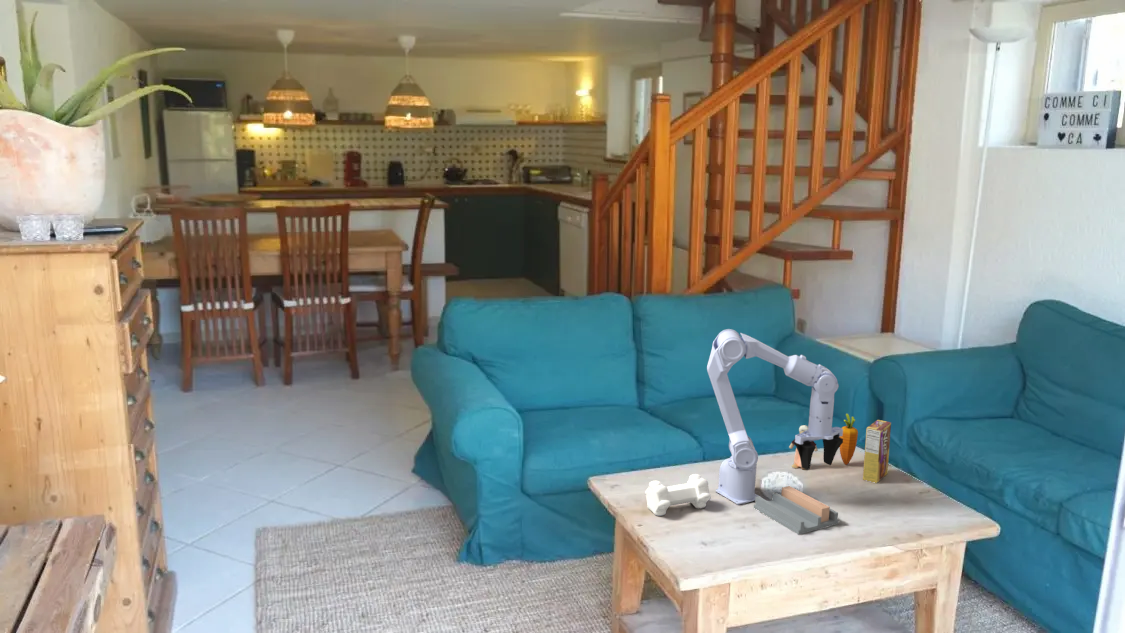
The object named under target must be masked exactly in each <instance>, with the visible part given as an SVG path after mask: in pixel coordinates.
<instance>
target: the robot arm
mask: <svg viewBox="0 0 1125 633" xmlns="http://www.w3.org/2000/svg"><path fill="white" fill-rule="evenodd" d="M755 357H756V358H759V359H761V360H764V361H766V362H768V363H771V364H773V365H776V366H778V367H780V368H782V369H783V371H784V374H785V376H786V377H788V378H791V379H793V380H795V381H797V382H799V383H802V384H803V385H805V386H807V387H811V394H810V395H811V396H810V401H809V402H810V403H809V415H808V425H807V426H808V430H806V431H804V432H802V433H801V434H800V433H798V434H795V436H794V437H795V438H794V439H795V441H794V444H795V445H794V447H796V448H797V450H798V452H799V455H800V460H801V465H802V468H804V469H806V470H805V471H809V470H810V468H811V465H812V457H813V454H814V452H815V451H814V450H815V448H816V447H815V446H813V445H811V443H810V441H814V442H815V441H820V440H822V445H823V457H822V458H823V463H824V464H826V465H829V466H831V465H832V463H833V461H834V458H835V456H836V454H837V452H838V450H839V449H840V445H841V444H842V443H843V439H842V438H840V437H839V436H843V429H842V427H839V426H834V427H833V416H834V408H835V407H834V404H835V393H836V392H837V391H838V390H839V385H840V384H839V383H838V382H839V381H838V379H837V377H836V376H835V374H834V373H833V372H832V371H831V370H830V369H828V368H827V367H826V366H823V365H822V364H820V363H819V364H816V363H814V362H811V361H809V360H807V357H806V356H805V355H804V354H800V355H798V354H793V355H789V356H788V355H786V354H784V353H782V352H781V351H779V350H777V349H775V348H773V347H771V346H769V345H768V344H765V343H763V342H761V341H760V340H758V339H756V338H754V337H751V336H750V335H747V334H746V333H742V332H740V334H739V332H737V331H736V330H734V329H732V328H731V329H730V328H727V329H723V330H722V331H720V332H718V334H717V336H716V337H715V339H714V340H713V342H712V347H711V351H710V355H709V358H708V361H707V366H706V371H707V374H708V377H709V380H710V383H711V386H712V389H713V392H714V395H715V398H716V401H717V404H718V406H719V407H718V408H719V411H720V413H721V416H722V418H723V423H724V425H725V428H726V431H727V434H728V436H729V437H728V438H729V442H728V449H729V451H730V453H731V456H730V457H729V458H726V459H724V460H723V461H722V463H721V464H720V466H719V470H718V471H719V472H718V473H719V474H718V486H717V487H718V488H716V489H715V492H716V493H717V494H719V495H721V496H723V497H725V498H726V499H728V500H730V501H731V502H733V503H734V504H736V505H742V504H747V503H752V502H756V497H758V496H759V497H761V498H763V497H762V496H760V495H758V494H756V480H757V478H756V477H757V465H758V461H759V454H758V452H757V450H756V448H755V446H754V443H753V442H754V441H753V440H752V438H751V437H750V436H749V435H748V434H747V430H746V427H745V425H744V422H743V419H742V416H741V413H740V409H739V406H738V403H737V400H736V397H735V394H734V391H733V388H732V385H731V382H730V379H729V375H728V373H729V372H730V370H731V368H732V367H733V365H735V364H736V363H738V362H739V361H740V360H741V359H743V358H745V359H747V360H748V359H751V358H755ZM796 448H795V449H796ZM804 469H803V470H804Z"/></svg>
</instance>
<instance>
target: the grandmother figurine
mask: <svg viewBox="0 0 1125 633" xmlns="http://www.w3.org/2000/svg"><path fill="white" fill-rule="evenodd" d="M806 430H808V425H807V424H805V425H804V424H803V425H802V424H801V425H800V426H799V428H798V432H799V434H801V433H802V432H804V431H806ZM794 441H795V438H794V439H793V440H791V443H790V445H789V446H788V448H789V449H791V450H792V449H793V448H794V447H795V444H794ZM810 443H811V445H813V446H815V447H816V448H815V450H814V452H816V453H817V452H818V451H819V449H818V447H817V443H816V442H815V441H810ZM791 468H793V469H799V468H800V469H801V470H804V471H807V470H806V469H804V468H802V465H801V460H800V455H799V452H798V450H797V448H795V453H794V459H793V464H792V465H791Z"/></svg>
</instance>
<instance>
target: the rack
mask: <svg viewBox="0 0 1125 633" xmlns="http://www.w3.org/2000/svg"><path fill="white" fill-rule="evenodd" d="M771 495H772V497H771V500H766V499H765V498H763V497H762V496H760V495H758V497H756V501H754V502H755V504H753V509H754V508H755V509H754V510H756V509H757V510H759V511H760V512H759V511H758V512H759V513H761V512H762V513H764V514H765V515H764V514H763V515H764V516H766V515H767V516H766V517H768V518H769V517H770V519H771V518H772V519H771V520H772V521H774V520H775V521H774V522H776V523H778V524H780V526H783V527H785V528H786V529H788V530H790V531H792V532H794V534H797V535H801V534H805V533H809V532H813V531H816V530H817V531H818V530H821V529H824V528H827V527H831V526H836V525H839V524H840V522H839V521H840V519H839V517H838V516H839V512H837V511H836V510H834V509H832V508H830V510H829V520H828V521H824V522H821V517H820V516H818V515H817V514H815V513H813V512H811V511H809V510H807V509H806V508H804V507H802V506H800V505H798V504H796V503H794V502H793V501H791V500H789V499H787V498H785V497H783V496H782V495H781V494H780V493H777V492H772V494H771ZM759 496H760V497H759ZM761 497H762V498H761ZM757 510H756V511H757ZM762 513H761V514H762Z"/></svg>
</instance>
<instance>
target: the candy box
mask: <svg viewBox="0 0 1125 633" xmlns="http://www.w3.org/2000/svg"><path fill="white" fill-rule="evenodd" d="M891 428H892V422H891V421H886V420H880V419H877V420H875V421H874V422H873V423H871V424H870V425H869V426H867V427H866V430H865V431H866V432H865V442H864V443H865V444H864V445H865V446H864V455H863V456H864V459H863V472H862V480H863V481H865V480H867V482H869V481H871V482H870V483H873V482H875V483H874V484H878V483H879V482H880V481H881V480H882V479H884V477H886V475H888V472H889V471H888V469H889V459H890V458H889V456H890V444H891V443H890V442H891ZM877 482H878V483H877Z"/></svg>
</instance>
